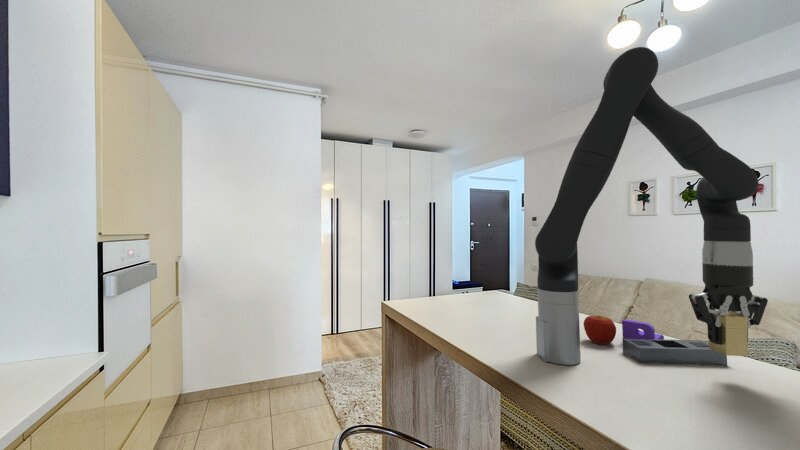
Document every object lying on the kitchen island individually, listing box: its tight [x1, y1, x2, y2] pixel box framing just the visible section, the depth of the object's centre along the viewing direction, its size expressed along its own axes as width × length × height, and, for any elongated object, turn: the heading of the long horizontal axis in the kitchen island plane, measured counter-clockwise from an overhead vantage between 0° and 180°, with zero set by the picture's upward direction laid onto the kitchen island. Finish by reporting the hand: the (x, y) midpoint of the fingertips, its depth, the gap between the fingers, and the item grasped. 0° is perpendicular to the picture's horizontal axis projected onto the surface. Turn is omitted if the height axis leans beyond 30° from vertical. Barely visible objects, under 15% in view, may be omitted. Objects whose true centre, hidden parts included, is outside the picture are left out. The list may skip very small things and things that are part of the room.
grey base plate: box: [622, 338, 728, 366], centre depth 79 cm, size 19×7×4 cm, turn 84°
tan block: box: [708, 312, 748, 357], centre depth 67 cm, size 4×4×8 cm
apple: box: [583, 315, 617, 345], centre depth 91 cm, size 8×8×8 cm
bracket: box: [621, 319, 665, 339], centre depth 91 cm, size 12×7×7 cm, turn 130°
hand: (727, 343), depth 67 cm, fingers closed on tan block, 4 cm apart
